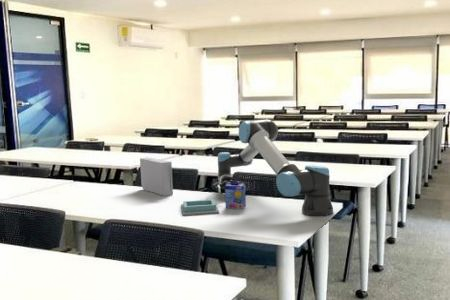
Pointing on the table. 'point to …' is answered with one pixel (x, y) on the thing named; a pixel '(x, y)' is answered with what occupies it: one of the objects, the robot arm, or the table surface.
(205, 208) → the cradle
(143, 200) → the table surface
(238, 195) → the ink cartridge box
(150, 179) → the game console
